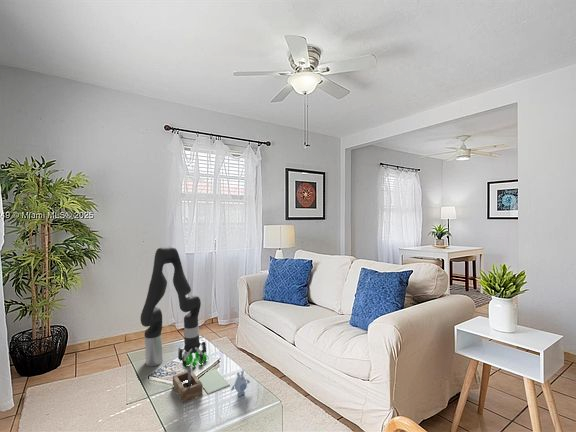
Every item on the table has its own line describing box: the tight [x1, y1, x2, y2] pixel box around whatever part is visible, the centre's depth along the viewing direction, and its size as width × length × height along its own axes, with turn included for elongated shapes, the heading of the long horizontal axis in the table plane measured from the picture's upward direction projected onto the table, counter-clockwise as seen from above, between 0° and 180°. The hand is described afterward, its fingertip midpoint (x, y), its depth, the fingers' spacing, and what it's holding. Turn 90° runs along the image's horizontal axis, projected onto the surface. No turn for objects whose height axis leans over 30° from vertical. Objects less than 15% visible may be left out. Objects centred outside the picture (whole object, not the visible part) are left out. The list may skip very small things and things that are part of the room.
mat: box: [199, 368, 230, 395], centre depth 171 cm, size 18×12×1 cm, turn 36°
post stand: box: [186, 366, 192, 387], centre depth 159 cm, size 3×3×14 cm
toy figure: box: [231, 370, 251, 397], centre depth 160 cm, size 11×6×12 cm, turn 127°
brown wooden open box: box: [172, 369, 203, 404], centre depth 163 cm, size 16×10×6 cm, turn 36°
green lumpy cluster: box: [186, 351, 209, 366], centre depth 190 cm, size 15×15×7 cm
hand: (192, 363), depth 167 cm, fingers open, 8 cm apart
